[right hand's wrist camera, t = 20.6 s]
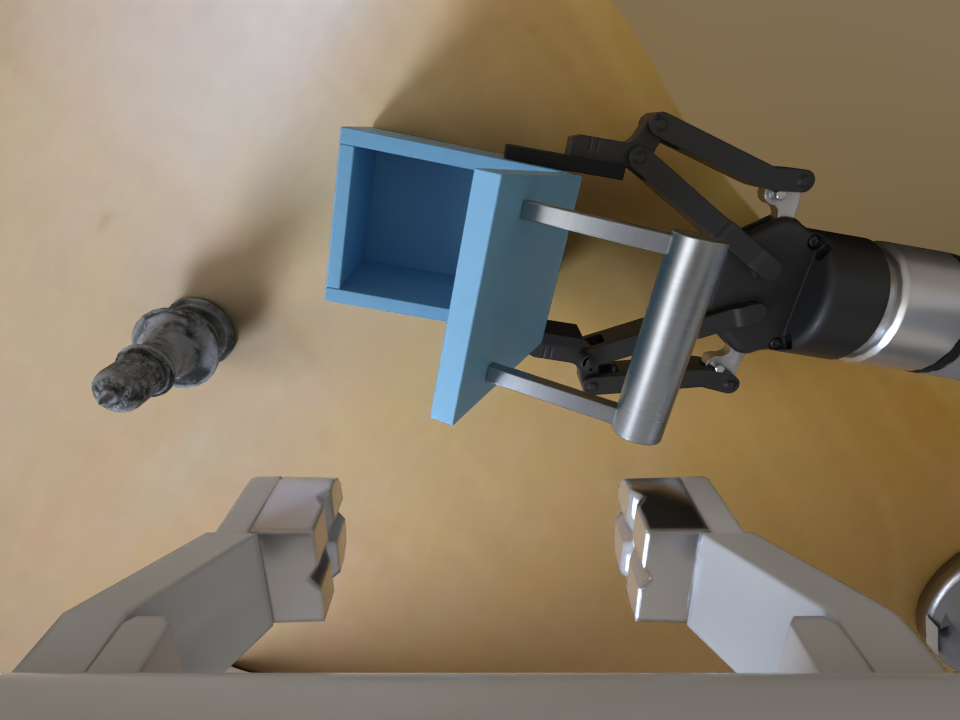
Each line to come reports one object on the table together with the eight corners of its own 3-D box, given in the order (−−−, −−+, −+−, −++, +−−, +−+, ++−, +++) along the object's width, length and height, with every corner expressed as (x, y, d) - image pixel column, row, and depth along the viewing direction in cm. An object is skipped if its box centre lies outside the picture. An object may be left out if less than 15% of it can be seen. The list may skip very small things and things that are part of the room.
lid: (429, 417, 22) (645, 498, 20) (474, 167, 19) (742, 228, 16) (525, 338, 33) (671, 383, 31) (564, 171, 30) (731, 208, 27)
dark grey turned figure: (169, 280, 41) (53, 337, 30) (248, 313, 42) (165, 380, 31) (150, 350, 43) (35, 426, 32) (226, 380, 44) (140, 465, 33)
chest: (353, 265, 41) (324, 300, 33) (369, 126, 37) (340, 126, 29) (519, 295, 42) (532, 337, 34) (549, 163, 38) (571, 173, 30)
